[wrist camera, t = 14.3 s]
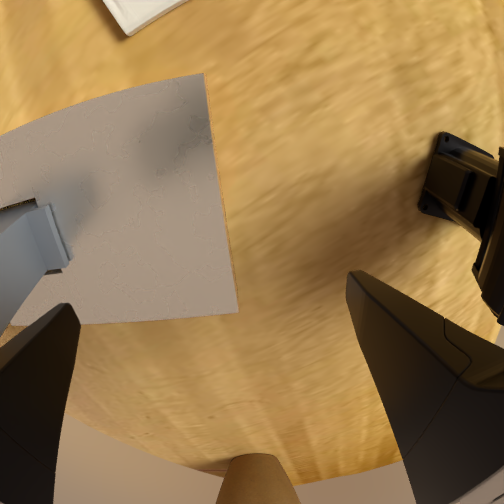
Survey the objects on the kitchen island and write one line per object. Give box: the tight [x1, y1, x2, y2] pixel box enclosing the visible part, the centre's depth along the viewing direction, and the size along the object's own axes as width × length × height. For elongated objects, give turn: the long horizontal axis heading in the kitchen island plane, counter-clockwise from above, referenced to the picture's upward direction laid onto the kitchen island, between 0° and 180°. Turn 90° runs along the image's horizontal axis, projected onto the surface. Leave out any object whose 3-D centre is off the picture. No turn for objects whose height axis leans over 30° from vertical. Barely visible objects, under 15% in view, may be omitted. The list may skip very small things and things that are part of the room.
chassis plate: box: [0, 73, 239, 326], centre depth 19 cm, size 22×16×2 cm
